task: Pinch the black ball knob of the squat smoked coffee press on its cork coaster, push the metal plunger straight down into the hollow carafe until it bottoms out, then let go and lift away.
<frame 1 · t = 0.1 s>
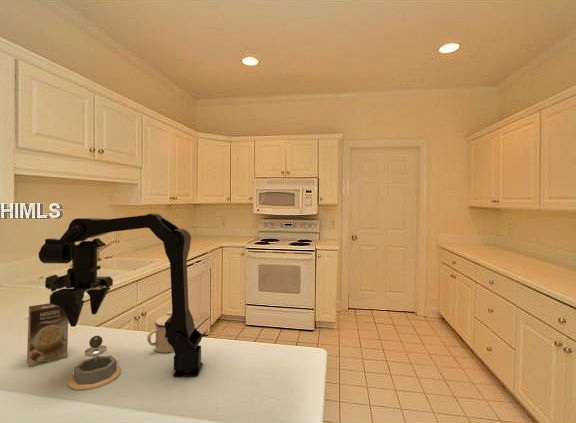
hand: (84, 319, 82), 15 cm above the counter, fingers open, 9 cm apart
teacup with lid: (165, 349, 97), on the counter
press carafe: (95, 376, 80), on the counter
plunger: (95, 348, 80), point 8 cm above the counter, slide at 0.0 cm
coffee box: (47, 359, 89), on the counter
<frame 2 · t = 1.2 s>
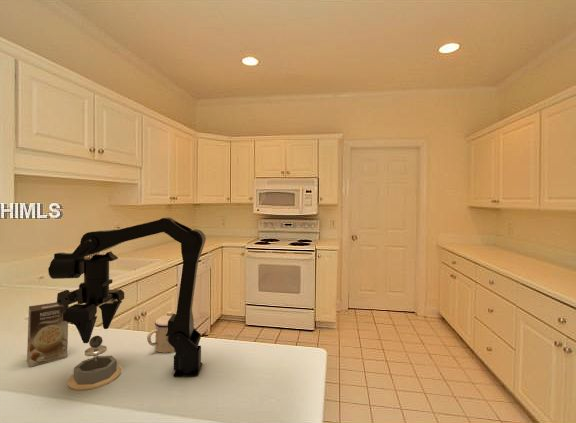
hand: (96, 335, 80), 11 cm above the counter, fingers open, 9 cm apart
nothing on the counter moved.
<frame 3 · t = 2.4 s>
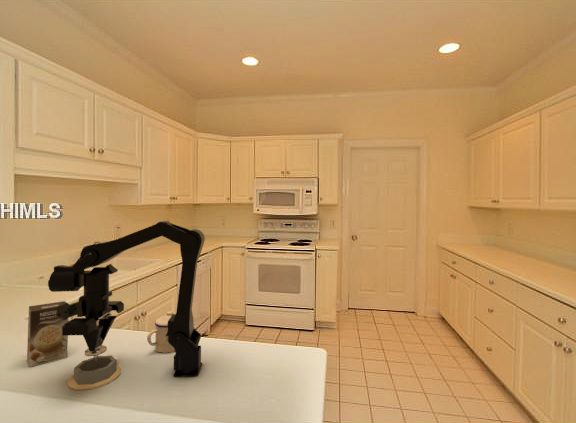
hand: (95, 348, 80), 8 cm above the counter, fingers closed on plunger, 3 cm apart
plunger: (95, 348, 80), point 8 cm above the counter, slide at 0.0 cm, touching gripper
everything else where it was.
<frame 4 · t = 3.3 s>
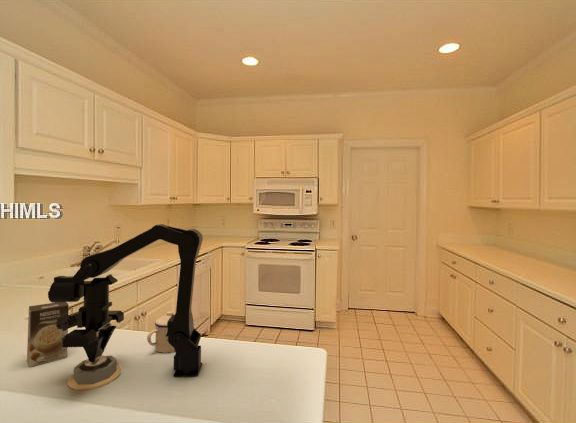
hand: (95, 358, 80), 5 cm above the counter, fingers closed on plunger, 3 cm apart
plunger: (95, 359, 80), point 5 cm above the counter, slide at 2.8 cm, touching gripper
everything else where it was.
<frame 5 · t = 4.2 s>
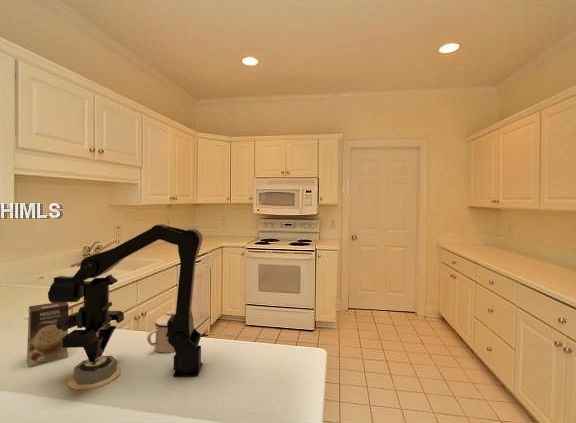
hand: (95, 359, 80), 5 cm above the counter, fingers closed on plunger, 3 cm apart
plunger: (95, 359, 80), point 5 cm above the counter, slide at 2.9 cm, touching gripper
everything else where it was.
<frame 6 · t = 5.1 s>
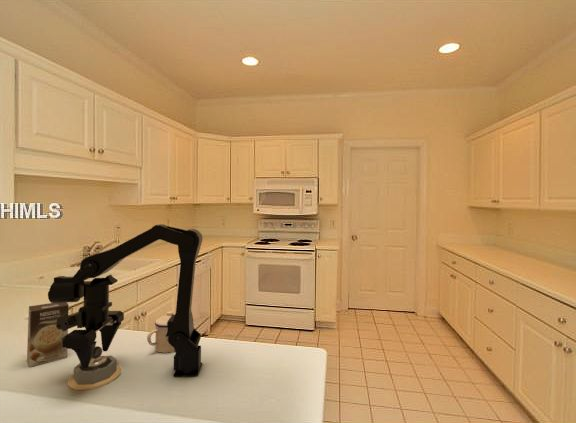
hand: (95, 359, 80), 5 cm above the counter, fingers open, 9 cm apart
plunger: (95, 359, 80), point 5 cm above the counter, slide at 2.9 cm
everything else where it was.
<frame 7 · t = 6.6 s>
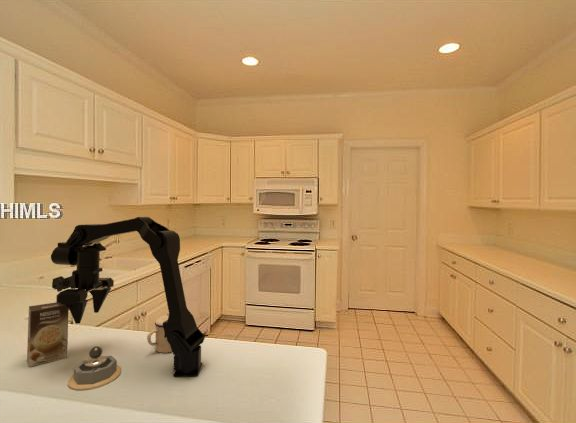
hand: (87, 317, 89), 13 cm above the counter, fingers open, 9 cm apart
nothing on the counter moved.
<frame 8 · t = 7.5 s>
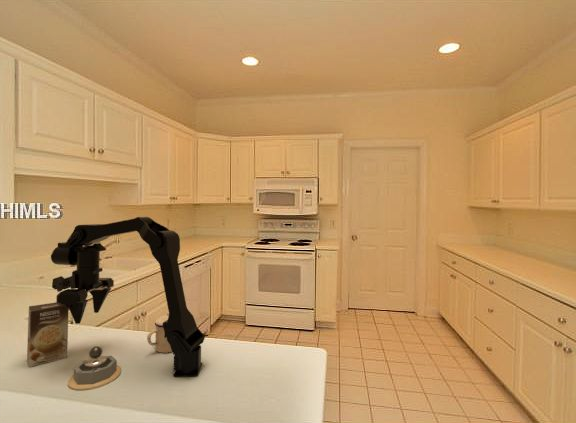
hand: (87, 317, 89), 12 cm above the counter, fingers open, 9 cm apart
nothing on the counter moved.
at the end: plunger slide at 2.9 cm; the gripper is holding nothing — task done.
